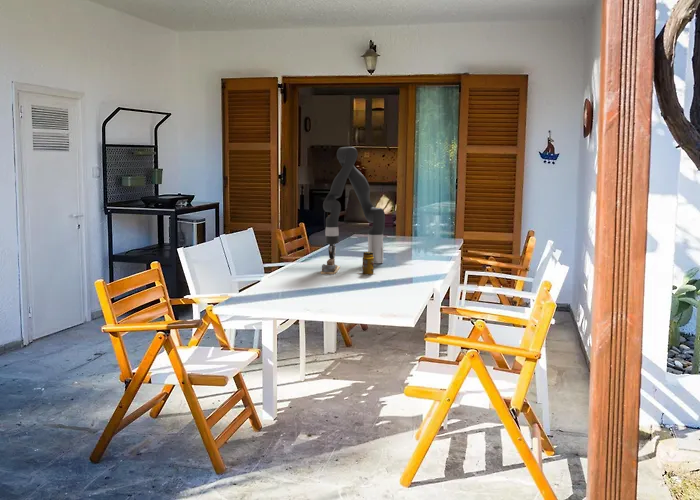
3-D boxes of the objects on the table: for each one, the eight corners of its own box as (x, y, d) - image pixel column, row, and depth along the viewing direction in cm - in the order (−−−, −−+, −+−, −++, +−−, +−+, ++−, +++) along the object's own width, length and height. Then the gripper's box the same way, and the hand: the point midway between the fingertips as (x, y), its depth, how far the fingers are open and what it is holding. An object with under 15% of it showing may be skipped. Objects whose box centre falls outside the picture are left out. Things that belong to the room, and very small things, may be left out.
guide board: (340, 267, 402) (340, 260, 401) (335, 273, 380) (335, 265, 379) (326, 267, 402) (326, 259, 402) (320, 273, 381) (320, 265, 380)
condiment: (376, 274, 379) (376, 252, 377) (364, 275, 374) (364, 253, 373) (369, 272, 385) (369, 251, 383) (356, 273, 380) (356, 252, 379)
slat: (332, 270, 386) (332, 261, 386) (326, 270, 387) (326, 261, 386) (334, 267, 396) (334, 258, 396) (329, 267, 397) (329, 258, 396)
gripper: (337, 236, 390) (337, 266, 392) (340, 233, 403) (340, 263, 405) (323, 236, 391) (324, 266, 393) (327, 233, 404) (327, 263, 406)
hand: (332, 264), depth 399 cm, fingers closed
